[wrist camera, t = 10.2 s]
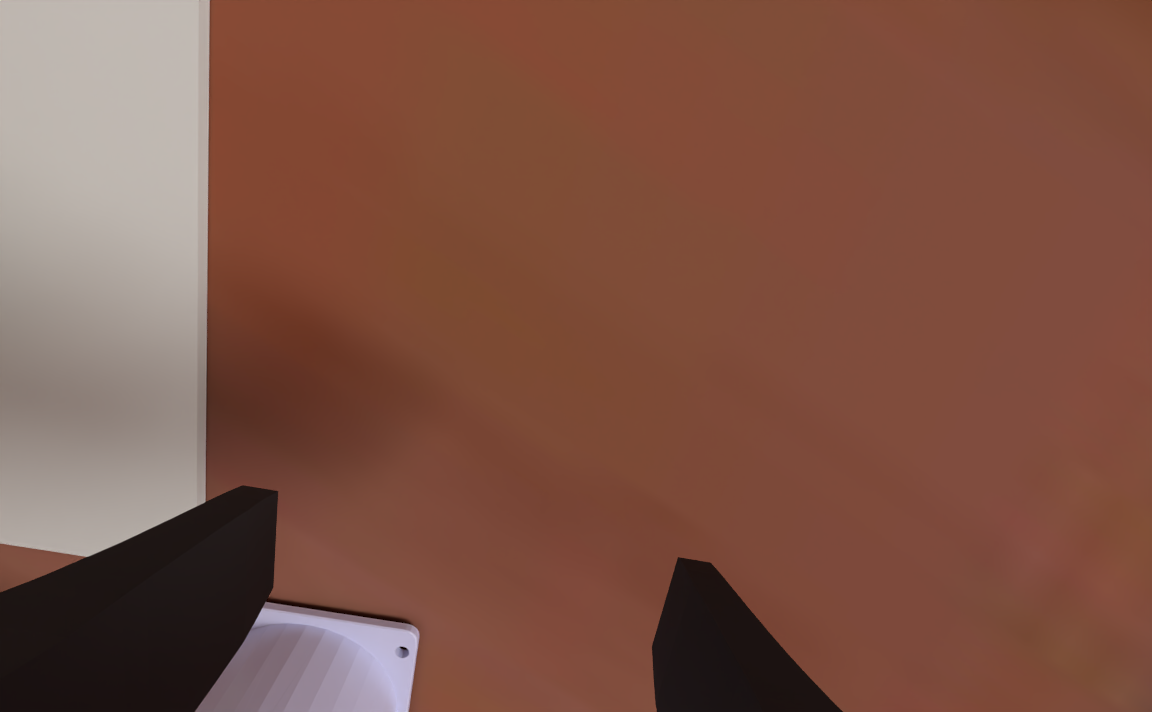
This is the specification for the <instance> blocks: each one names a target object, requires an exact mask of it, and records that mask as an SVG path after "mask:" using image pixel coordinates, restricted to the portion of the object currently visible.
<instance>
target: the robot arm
mask: <svg viewBox="0 0 1152 712" xmlns="http://www.w3.org/2000/svg"><path fill="white" fill-rule="evenodd" d="M277 502H278V491H273V490H267V489H261V488H255V487H249V486H240V487H238V488H235V489H233V490H231V491H228V492H226V493H224V494H222V495H220V496H217V497H215V498H213V499H211V500H209V501H207V502H205V503H203V504H201V505H199V506H196V507H194V508H192V509H190V510H188V511H186V512H184V513H182V514H180V515H178V516H176V517H174V518H172V519H170V520H167V521H165V522H163V523H161V524H159V525H157V526H155V527H153V528H151V529H148V530H146V531H144V532H142V533H140V534H138V535H136V536H134V537H132V538H129V539H127V540H125V541H123V542H121V543H118V544H116V545H114V546H112V547H109V548H107V549H105V550H102V551H100V552H98V553H95V554H93V555H91V556H88V557H86V558H84V559H82V560H79V561H77V562H75V563H72V564H70V565H68V566H65V567H63V568H61V569H58V570H56V571H54V572H51V573H49V574H47V575H44V576H42V577H39V578H37V579H34V580H32V581H29V582H27V583H24V584H21V585H19V586H16V587H14V588H11V589H8V590H6V591H3V592H0V712H409V706H410V699H411V692H412V685H413V678H414V671H415V664H416V657H417V650H418V643H419V631H418V630H417V628H415V627H414V626H413V625H410V624H406V623H399V622H393V621H386V620H380V619H373V618H367V617H360V616H354V615H347V614H341V613H334V612H327V611H321V610H314V609H308V608H301V607H295V606H288V605H282V604H275V603H269V602H266V600H267V598H268V597H269V595H270V593H271V591H272V589H273V581H274V561H275V541H276V521H277ZM400 647H405V648H407V649H408V650H404V649H401V648H400ZM652 655H653V673H654V688H655V701H656V708H657V712H843V711H842V710H841V709H839V708H838V707H837V706H836V705H835V704H834V703H833V702H832V701H831V700H830V699H829V697H828V696H827V695H826V694H825V693H824V692H823V691H822V690H821V689H820V688H819V687H818V686H817V685H816V684H815V683H814V682H813V681H812V680H811V679H810V678H809V677H808V675H807V674H806V673H805V672H804V671H803V670H802V669H801V668H800V667H799V666H798V665H797V664H796V662H795V661H794V660H793V659H792V658H791V657H790V656H789V655H788V654H787V653H786V651H785V650H784V649H783V648H782V647H781V646H780V645H779V643H778V642H777V641H776V640H775V639H774V638H773V636H772V635H771V634H770V633H769V632H768V631H767V629H766V628H765V627H764V626H763V625H762V624H761V622H760V621H759V620H758V619H757V618H756V616H755V615H754V614H753V613H752V612H751V610H750V609H749V608H748V607H747V606H746V604H745V603H744V602H743V601H742V599H741V598H740V597H739V596H738V595H737V593H736V592H735V591H734V590H733V588H732V587H731V586H730V585H729V584H728V582H727V581H726V580H725V579H724V578H723V576H722V575H721V574H720V573H719V572H718V571H717V569H716V568H715V567H714V566H713V565H712V564H711V563H709V562H703V561H697V560H691V559H685V558H679V557H678V559H677V563H676V566H675V570H674V573H673V577H672V580H671V583H670V587H669V590H668V594H667V597H666V600H665V604H664V607H663V611H662V614H661V618H660V621H659V624H658V628H657V631H656V635H655V638H654V641H653V645H652Z"/></svg>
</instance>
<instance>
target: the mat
mask: <svg viewBox="0 0 1152 712" xmlns="http://www.w3.org/2000/svg"><path fill="white" fill-rule="evenodd" d="M209 10H210V0H0V543H2V544H8V545H15V546H21V547H27V548H34V549H40V550H47V551H53V552H60V553H66V554H72V555H79V556H85V557H88V556H91V555H93V554H95V553H98V552H100V551H102V550H105V549H107V548H109V547H112V546H114V545H116V544H118V543H121V542H123V541H125V540H127V539H129V538H132V537H134V536H136V535H138V534H140V533H142V532H144V531H146V530H148V529H151V528H153V527H155V526H157V525H159V524H161V523H163V522H165V521H167V520H170V519H172V518H174V517H176V516H178V515H180V514H182V513H184V512H186V511H188V510H190V509H192V508H194V507H196V506H199V505H201V504H203V503H205V491H206V371H207V251H208V130H209Z"/></svg>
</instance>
